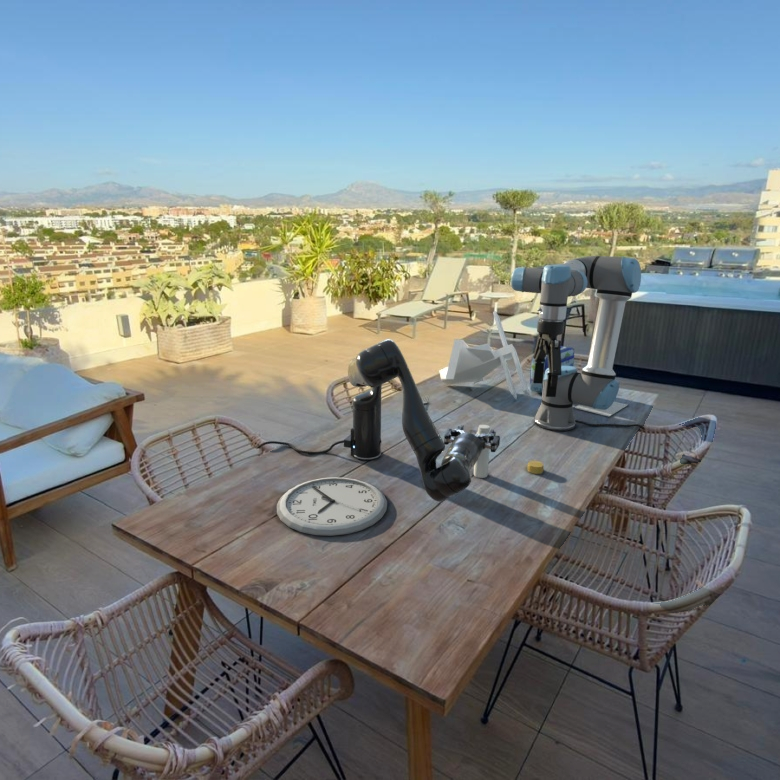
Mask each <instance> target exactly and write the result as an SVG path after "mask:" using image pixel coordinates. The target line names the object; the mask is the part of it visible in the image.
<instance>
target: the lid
mask: <svg viewBox="0 0 780 780" xmlns="http://www.w3.org/2000/svg"><path fill="white" fill-rule="evenodd" d="M526 465H527V466H526V470H527V472H528V473H530V474H534V475H540V474H543V472H544V463H543V462H541V461H539V460H529V461H528V462H527V464H526Z"/></svg>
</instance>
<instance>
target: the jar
mask: <svg viewBox="0 0 780 780" xmlns="http://www.w3.org/2000/svg"><path fill="white" fill-rule="evenodd" d="M490 430H491V427H490V426H489V425H488V424H479V425H478V428H477V431H476V434H475V435H480V434H486V435H487V434H489V433H490ZM482 439H483V438H482ZM488 441H489V438H488ZM490 451H491V450H490V449H489V448H485V449H483V450H482V452H481V454H480V456H479V458H478V461H477V462H476V463H475V465H474V466H473V476H474V477H475V478H478V479H485V478H487V477H488V474H489V459H490Z"/></svg>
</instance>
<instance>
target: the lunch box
mask: <svg viewBox="0 0 780 780" xmlns="http://www.w3.org/2000/svg"><path fill="white" fill-rule="evenodd" d="M533 356H534V354H533ZM533 356H532V358H531V363H530V374H529V391H532V392H536V393H540V394H542V391H543V381H544V380H543V381H542V383H533V378H534V368H535V363H536V362H535V359H534V358H533ZM542 363H544V372H543V379H544V375H545V371H546V369H548V368H549V366H548V358H547V355H546V357H545V362H542ZM574 363H575V348H573V347H571V346H570V347H568V346H563V345H561V366H573V367H574Z"/></svg>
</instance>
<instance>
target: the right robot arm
mask: <svg viewBox="0 0 780 780" xmlns="http://www.w3.org/2000/svg"><path fill="white" fill-rule="evenodd" d="M641 282H642V269H641V265H640V262H639V261H638V259H637V258H634V257H627V256H607V255H605V256H603V255H589V256H583V257H577V258H572V259H567V260H566V261H564V262H563V263H558V264H557V263H555V264H546V265H544V266H535V267H525V266H524V267H516V268H514V270H513V271H512V274H511V276H510V285H511V286H510V287H511V288H512V289H513V291H514V292H521V293H531V294H540V300H539V307H538V308H537V312H538V320H537V327H536V332H537V334H538V337H537V341H536V345H535V348H534V352H533V355H534V356H532V358H534V359H535V362H536V363H535V368H534V378H533V383H542V381H543V380H544V381H543V391H542V393H541V402H540V405H539V407H537V408H536V413H535V416H534V424H535V425H536V426H537V427H539V428H542V429H544V430H549V431H556V432H567V431H572V430H574V429H575V428H576V423H577V424H580V425H585V426H589V427H622V428H633V427H638V428H640V429H641V430H645V431H646V428H645V427H644V426H643V425H641V424H638V423H633V424H632V423H630V424H623V423H621V424H620V423H589V422H585V421H583V420H582V421H581V420H578V419H576V418H575V417H576V416H575V413H574V407H573V405H574V404H575V405H584V406H588V407H592V408H594V409H602V410H606V409H608V408H609V407H610V406H611V405H612V404H613V402H616V401H615V400H616V399H617V396H618V394H619V390H620V381H619V380H618V379H616V376H617V373H616V372H615V371H614V369H613V368H614V363H615V358H616V352H617V347H618V343H619V338H620V333H621V327H622V322H623V318H624V317H623V316H624V312H625V307H626V303H627V302H628V301H629V300H631V299H632V296H633V294H635V293H637V292H639V290H640V287H641ZM586 289H591V290H596V296H597V298H598V299H599V301H598V302H599V303H598V306H597V312H596V318H595V323H594V329H593V333H592V337H591V344H590V350H589V354H588V360H587V364H586V366H584V367H583V368H581V372H578V368H577V366H574V365H573V366H561V346H562V341H561V340H558V336H561V335H563V334H564V332H565V323H566V322H565V320H566V318H567V311H568V310H567V308H568V306H567V305H568V298H569V297H575V296H578V295H580V294H583V293H584V292H585V290H586ZM546 355H547V358H548V366H549V368H548V369H546V371H545V375H544V379H543V372H544V363H542V362H545V357H546Z"/></svg>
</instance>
